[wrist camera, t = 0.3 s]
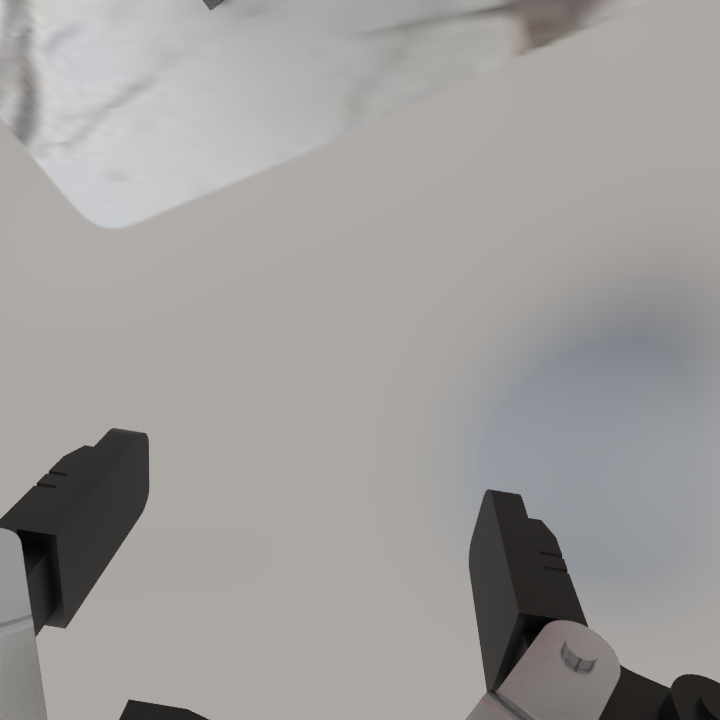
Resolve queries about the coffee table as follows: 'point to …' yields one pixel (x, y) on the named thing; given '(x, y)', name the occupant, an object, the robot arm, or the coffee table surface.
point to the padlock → (212, 3)
